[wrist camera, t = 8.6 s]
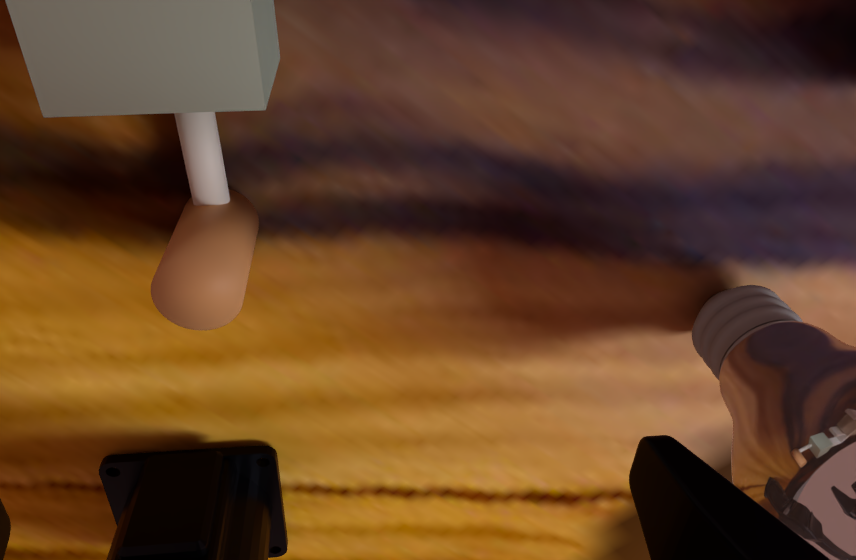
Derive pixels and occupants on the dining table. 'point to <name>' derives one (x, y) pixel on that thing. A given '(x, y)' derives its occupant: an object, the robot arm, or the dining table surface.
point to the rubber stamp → (167, 93)
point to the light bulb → (786, 412)
